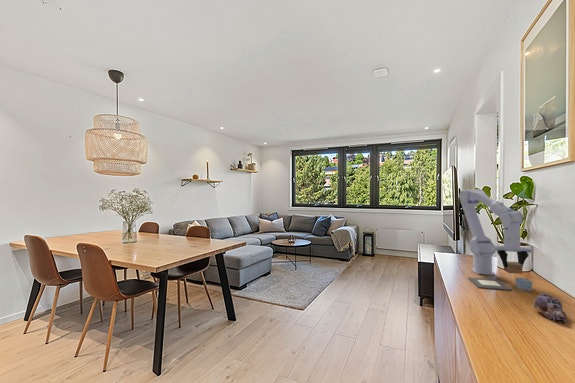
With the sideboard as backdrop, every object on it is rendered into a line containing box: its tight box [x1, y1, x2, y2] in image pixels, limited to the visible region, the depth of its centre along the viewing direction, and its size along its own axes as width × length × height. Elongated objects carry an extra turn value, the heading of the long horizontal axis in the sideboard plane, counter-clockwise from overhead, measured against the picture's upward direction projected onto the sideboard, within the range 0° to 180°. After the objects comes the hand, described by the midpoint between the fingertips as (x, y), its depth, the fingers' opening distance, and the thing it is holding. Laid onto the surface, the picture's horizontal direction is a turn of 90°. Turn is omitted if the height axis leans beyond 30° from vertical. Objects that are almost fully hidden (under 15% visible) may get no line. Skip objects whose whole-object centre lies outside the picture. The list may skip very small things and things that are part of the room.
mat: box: [468, 277, 513, 292], centre depth 120 cm, size 14×12×1 cm
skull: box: [533, 293, 568, 324], centre depth 89 cm, size 12×8×6 cm, turn 148°
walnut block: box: [503, 261, 523, 275], centre depth 121 cm, size 5×5×4 cm
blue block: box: [515, 277, 533, 291], centre depth 115 cm, size 4×4×4 cm
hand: (512, 267), depth 122 cm, fingers closed on walnut block, 5 cm apart
